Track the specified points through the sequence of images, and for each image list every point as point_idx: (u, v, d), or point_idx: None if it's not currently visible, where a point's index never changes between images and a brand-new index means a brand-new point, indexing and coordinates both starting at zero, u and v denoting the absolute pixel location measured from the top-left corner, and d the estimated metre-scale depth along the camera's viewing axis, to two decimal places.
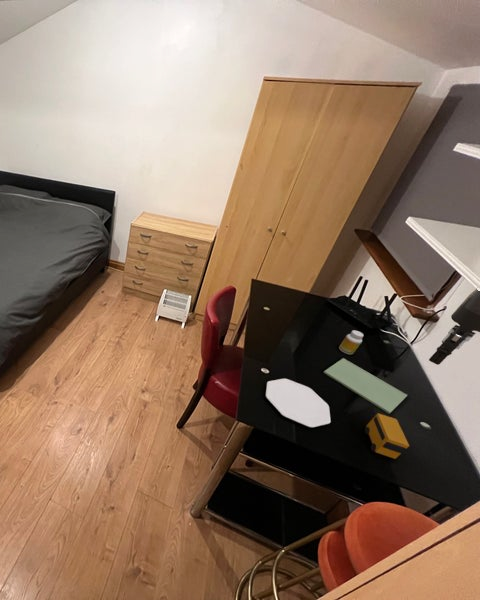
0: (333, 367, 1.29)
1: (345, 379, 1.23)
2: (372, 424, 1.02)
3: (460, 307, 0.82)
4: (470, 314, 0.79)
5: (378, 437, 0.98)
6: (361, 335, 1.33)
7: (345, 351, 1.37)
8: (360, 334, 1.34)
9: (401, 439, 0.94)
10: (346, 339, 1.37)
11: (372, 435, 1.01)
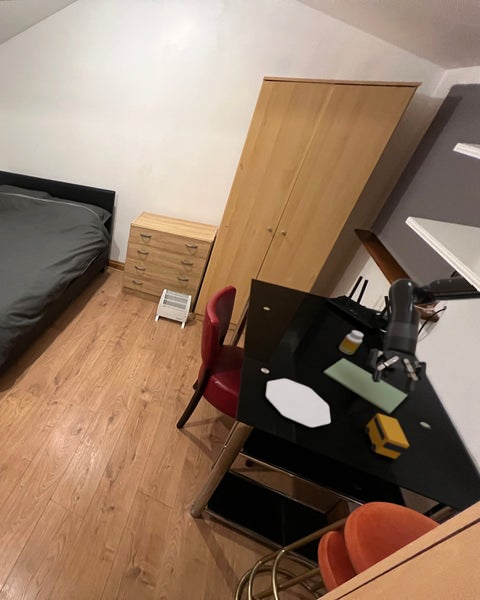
0: (333, 367, 1.29)
1: (345, 379, 1.23)
2: (372, 424, 1.02)
3: None
4: (385, 339, 1.06)
5: (378, 437, 0.98)
6: (361, 335, 1.33)
7: (345, 351, 1.37)
8: (360, 334, 1.34)
9: (401, 439, 0.94)
10: (346, 339, 1.37)
11: (372, 435, 1.01)
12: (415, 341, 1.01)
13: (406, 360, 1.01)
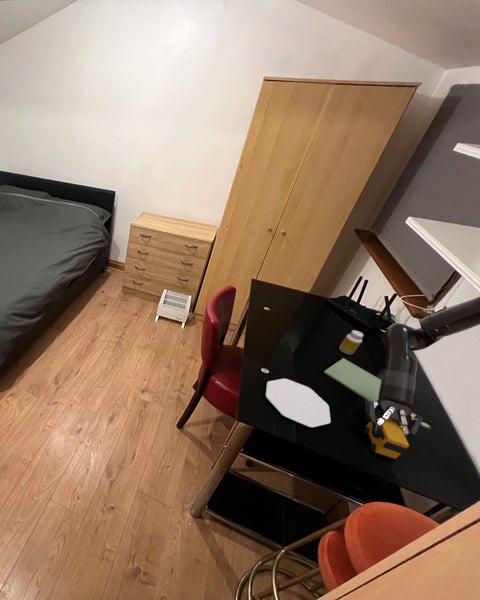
0: (333, 367, 1.29)
1: (345, 379, 1.23)
2: (372, 424, 1.02)
3: None
4: (381, 387, 1.02)
5: None
6: (361, 335, 1.33)
7: (345, 351, 1.37)
8: (360, 334, 1.34)
9: (401, 439, 0.94)
10: (346, 339, 1.37)
11: (372, 435, 1.01)
12: (412, 391, 0.97)
13: (402, 411, 0.97)
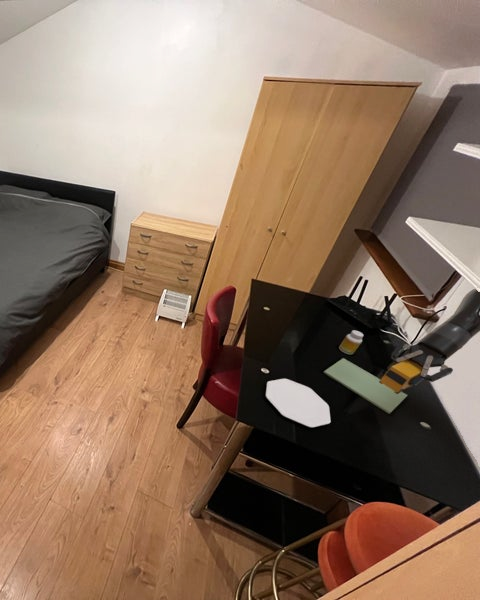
0: (333, 367, 1.29)
1: (345, 379, 1.23)
2: None
3: None
4: None
5: None
6: (361, 335, 1.33)
7: (345, 351, 1.37)
8: (360, 334, 1.34)
9: (408, 373, 0.98)
10: (346, 339, 1.37)
11: None
12: (452, 342, 0.96)
13: (430, 357, 0.98)
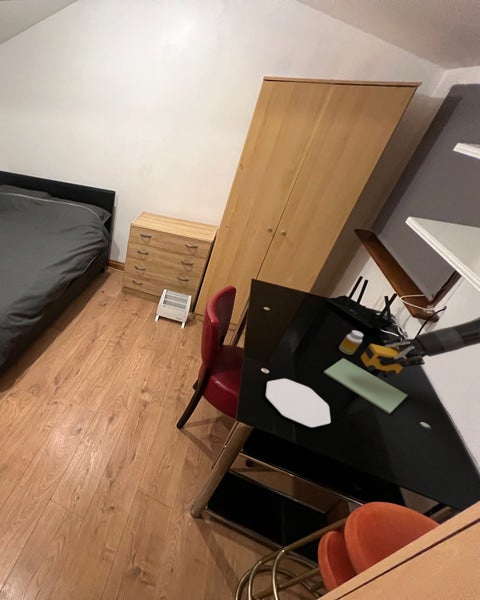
0: (333, 367, 1.29)
1: (345, 379, 1.23)
2: None
3: None
4: None
5: None
6: (361, 335, 1.33)
7: (345, 351, 1.37)
8: (360, 334, 1.34)
9: (380, 351, 1.14)
10: (346, 339, 1.37)
11: None
12: (437, 339, 1.05)
13: (412, 347, 1.09)
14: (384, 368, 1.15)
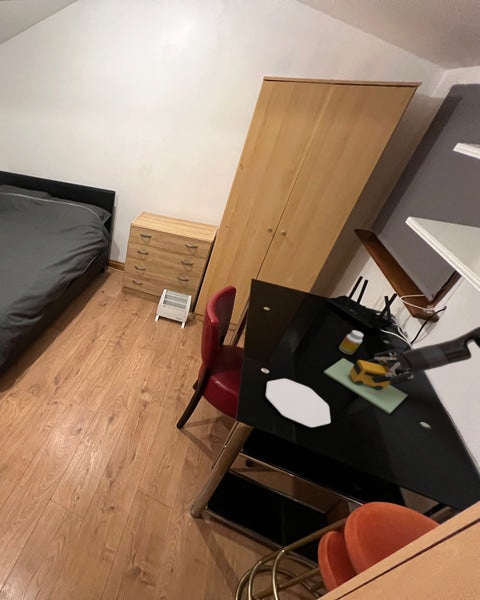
0: (333, 367, 1.29)
1: (345, 379, 1.23)
2: None
3: None
4: None
5: None
6: (361, 335, 1.33)
7: (345, 351, 1.37)
8: (360, 334, 1.34)
9: (367, 367, 1.18)
10: (346, 339, 1.37)
11: None
12: (422, 356, 1.09)
13: (398, 363, 1.14)
14: (371, 383, 1.19)
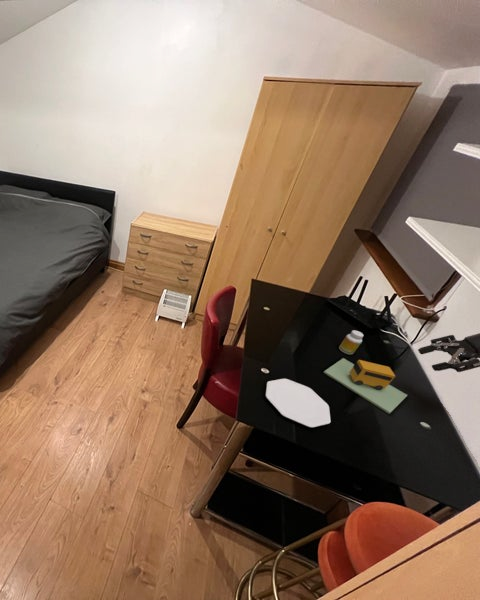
0: (333, 367, 1.29)
1: (345, 379, 1.23)
2: None
3: None
4: None
5: None
6: (361, 335, 1.33)
7: (345, 351, 1.37)
8: (360, 334, 1.34)
9: (367, 367, 1.18)
10: (346, 339, 1.37)
11: None
12: None
13: (462, 349, 1.05)
14: (371, 383, 1.19)
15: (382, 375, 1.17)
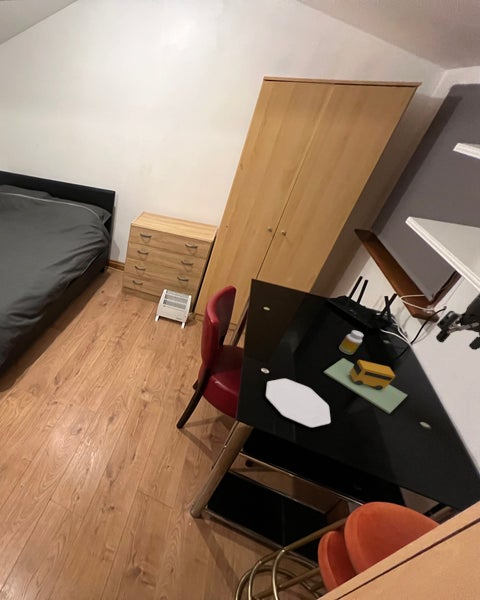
0: (333, 367, 1.29)
1: (345, 379, 1.23)
2: None
3: None
4: (475, 301, 0.94)
5: None
6: (361, 335, 1.33)
7: (345, 351, 1.37)
8: (360, 334, 1.34)
9: (367, 367, 1.18)
10: (346, 339, 1.37)
11: None
12: None
13: None
14: (371, 383, 1.19)
15: (382, 375, 1.17)
